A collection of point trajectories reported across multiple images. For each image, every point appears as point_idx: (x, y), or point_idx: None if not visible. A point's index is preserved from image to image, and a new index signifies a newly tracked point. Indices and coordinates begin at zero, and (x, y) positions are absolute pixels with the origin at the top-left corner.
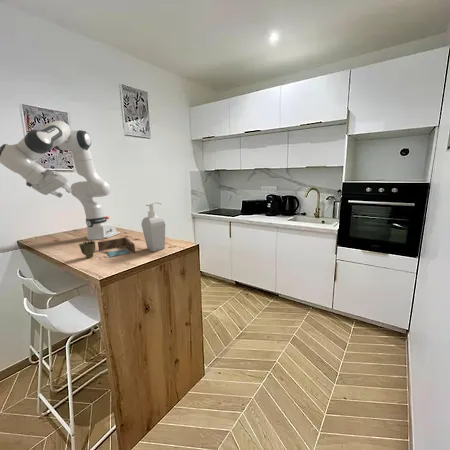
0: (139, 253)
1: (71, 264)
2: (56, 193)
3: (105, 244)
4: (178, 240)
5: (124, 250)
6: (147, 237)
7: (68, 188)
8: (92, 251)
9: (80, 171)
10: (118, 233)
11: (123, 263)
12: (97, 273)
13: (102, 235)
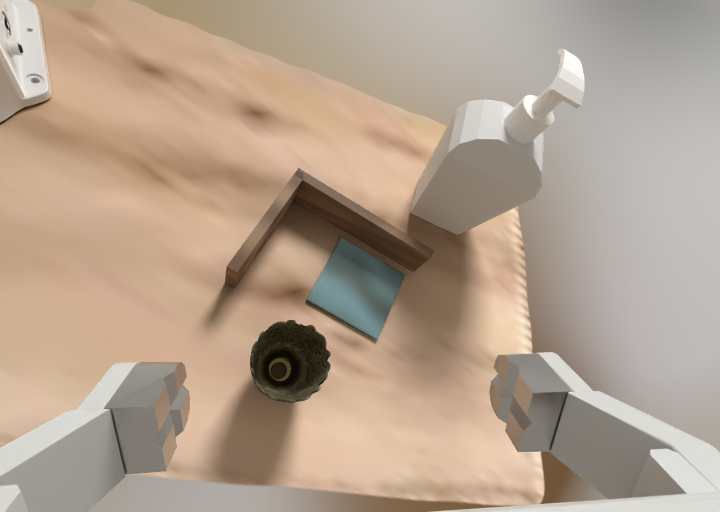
0: (433, 265)
1: (293, 480)
2: (84, 469)
3: (254, 252)
4: (430, 119)
5: (358, 258)
6: (453, 199)
7: (586, 411)
8: (314, 365)
9: None
10: (40, 22)
11: (477, 367)
12: (493, 482)
13: (13, 93)
